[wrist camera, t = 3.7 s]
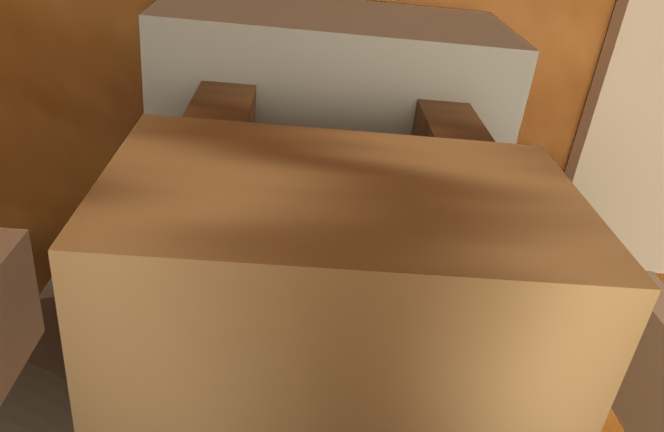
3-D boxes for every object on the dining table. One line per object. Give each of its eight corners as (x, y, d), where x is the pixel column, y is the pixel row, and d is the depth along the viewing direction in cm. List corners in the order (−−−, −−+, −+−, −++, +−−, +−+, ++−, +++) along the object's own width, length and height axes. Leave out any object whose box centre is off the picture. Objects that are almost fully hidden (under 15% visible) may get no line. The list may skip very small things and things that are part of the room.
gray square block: (183, 252, 24) (155, 336, 20) (177, -18, 19) (138, 14, 15) (436, 268, 25) (462, 353, 21) (490, 12, 20) (539, 51, 16)
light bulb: (107, 367, 27) (9, 605, 18) (-22, 293, 25) (-202, 521, 16) (189, 281, 25) (122, 503, 16) (56, 193, 23) (-103, 392, 14)
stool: (186, 313, 19) (100, 612, 12) (181, 59, 16) (47, 250, 8) (437, 327, 20) (518, 623, 12) (492, 86, 16) (661, 289, 8)
